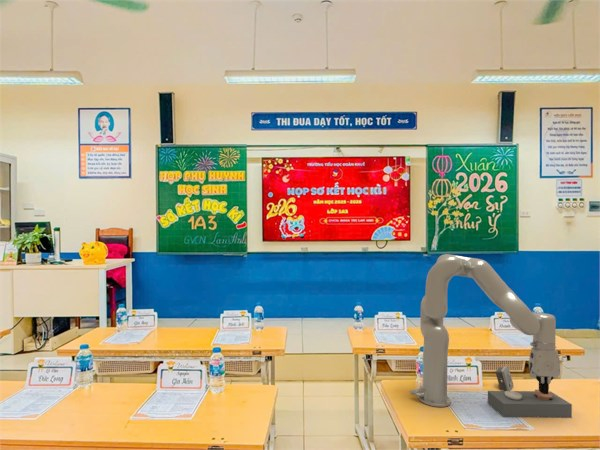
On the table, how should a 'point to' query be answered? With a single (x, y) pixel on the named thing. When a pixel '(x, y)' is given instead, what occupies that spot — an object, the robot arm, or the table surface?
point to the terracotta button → (543, 395)
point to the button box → (529, 405)
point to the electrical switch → (504, 378)
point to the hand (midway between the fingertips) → (543, 392)
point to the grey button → (513, 395)
